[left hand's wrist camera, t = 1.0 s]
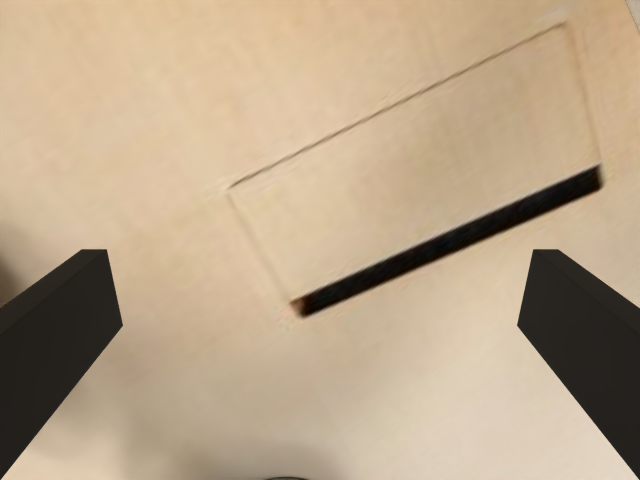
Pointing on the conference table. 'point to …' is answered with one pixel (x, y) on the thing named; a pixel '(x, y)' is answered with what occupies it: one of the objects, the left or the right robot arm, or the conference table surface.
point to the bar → (635, 11)
